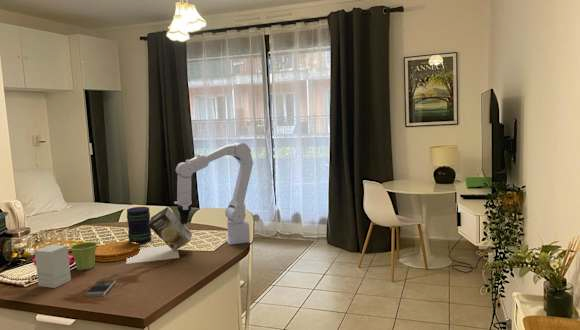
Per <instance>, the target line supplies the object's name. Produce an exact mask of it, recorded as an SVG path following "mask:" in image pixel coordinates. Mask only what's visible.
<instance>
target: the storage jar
mask: <svg viewBox="0 0 580 330" xmlns="http://www.w3.org/2000/svg"><path fill="white" fill-rule="evenodd" d="M126 219H127V221H126V222H127V223H128V225H127V227H128V231H127V233H128V237H127V238H128V242H129V241H130V242H136V243H139V244H138V245H143V244H144V245H145V244H147V243H150V242H151V241H152V229H151V228H150V227H149V226H148V224H149V221H150V219H151V213H150V207H148V206H135V207H130V208H127V209H126Z"/></svg>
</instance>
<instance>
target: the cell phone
mask: <svg viewBox="0 0 580 330" xmlns="http://www.w3.org/2000/svg"><path fill="white" fill-rule="evenodd" d="M115 285H116V280H101V281H96V282H95V283H94V285H92V286H91V288H90V289H89V290H87V291H86V293H85V297H86V298H94V297H98V298H99V297H104V296H105V295H106V294H108V293H109V291H110V290H111V289H112V288H113V287H114V286H115Z"/></svg>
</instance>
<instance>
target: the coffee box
mask: <svg viewBox="0 0 580 330" xmlns="http://www.w3.org/2000/svg"><path fill="white" fill-rule="evenodd" d="M148 226H149V227H150V228H151V231H153V232H154V233H155V234H156V236H158V237H159V238H160V239H161V240H162V241H163V242H164V243H165V245H166V246H169V247H170V248H171V249H172V250H173V251H175V250H177V249H178V250H179V249H180V248H182V247H183V246H185V245H186V244H188V243H190V241H191V239H192V236H193V232H192V231H191V230H190V229H189V228H188V227H187V226H186V224H182V223H181V219H179V218H178V216H176V214H175V213H174V212H173V211H172V210H171V209H170V208H169V207H168V206H167V207H164V209H162V210H160V211H159V212H158V213H156V214H155V215H153V216H150V221H149V224H148Z"/></svg>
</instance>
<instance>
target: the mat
mask: <svg viewBox="0 0 580 330" xmlns="http://www.w3.org/2000/svg"><path fill="white" fill-rule="evenodd" d="M139 249H140V251H139V253H138V254H137V255H135V256H133V257H130V258H127V257H126V262H125V264H126V265H132V264H140V263H141V264H142V263H147V262H148V263H149V262H156V261H157V260H158V261H163V260H164V261H165V260H173V259H180V254H179V253H180V252H179V249H177V250H175V251H173V250H172V249H171V248H170V247H169V246H168V245H161V246H160V245H159V246H152V247H151V246H150V247H142V248H141V247H140V248H139Z"/></svg>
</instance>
